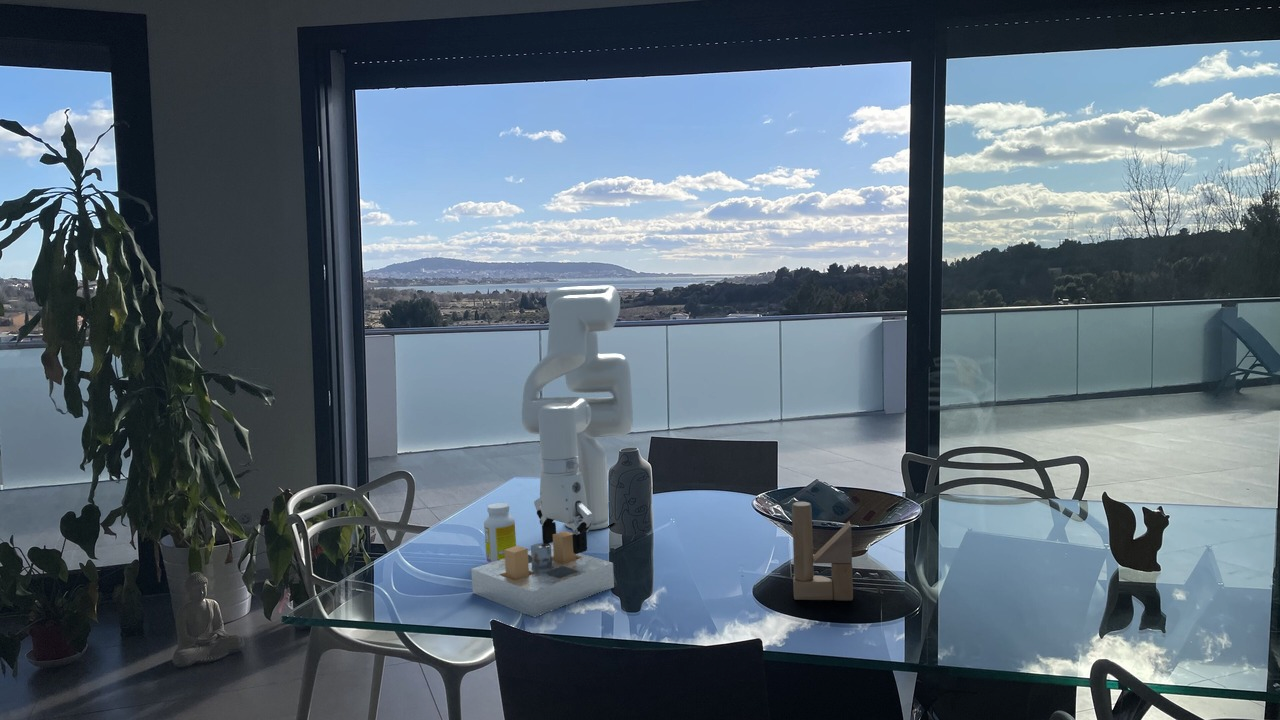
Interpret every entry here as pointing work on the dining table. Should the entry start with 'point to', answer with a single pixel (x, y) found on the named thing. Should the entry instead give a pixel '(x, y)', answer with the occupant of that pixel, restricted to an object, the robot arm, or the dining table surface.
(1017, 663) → the dining table surface
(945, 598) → the dining table surface
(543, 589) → the grey peg hole board
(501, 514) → the supplement bottle
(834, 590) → the wooden block structure
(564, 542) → the tan square prism
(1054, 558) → the dining table surface
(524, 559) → the tall tan wooden post
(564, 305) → the robot arm
